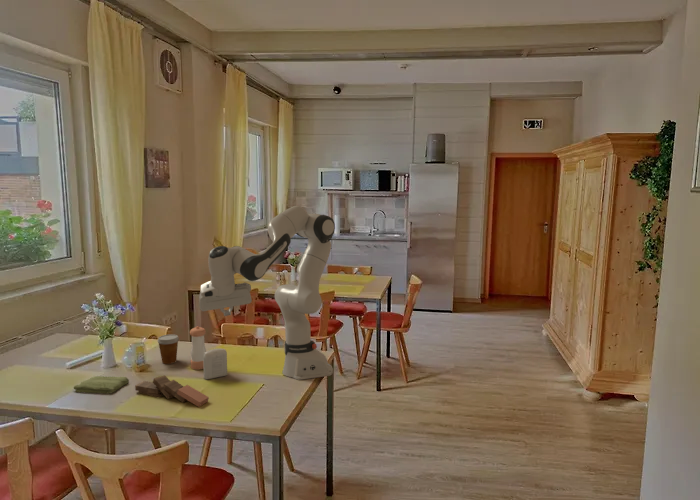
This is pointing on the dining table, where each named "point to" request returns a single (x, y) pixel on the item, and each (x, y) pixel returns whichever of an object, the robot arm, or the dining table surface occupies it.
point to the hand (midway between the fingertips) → (227, 314)
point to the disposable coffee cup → (168, 348)
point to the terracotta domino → (193, 395)
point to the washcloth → (101, 384)
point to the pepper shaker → (197, 348)
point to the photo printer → (215, 363)
